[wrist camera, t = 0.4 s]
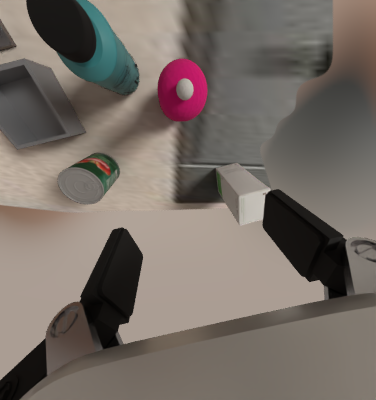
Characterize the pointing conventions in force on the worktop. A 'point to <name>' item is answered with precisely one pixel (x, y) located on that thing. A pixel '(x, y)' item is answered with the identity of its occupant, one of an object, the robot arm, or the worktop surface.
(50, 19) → the beverage bottle
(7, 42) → the stud plate
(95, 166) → the canned tomato
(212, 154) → the worktop surface
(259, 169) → the worktop surface
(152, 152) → the worktop surface
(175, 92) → the pepper mill
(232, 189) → the skincare box
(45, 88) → the bin
